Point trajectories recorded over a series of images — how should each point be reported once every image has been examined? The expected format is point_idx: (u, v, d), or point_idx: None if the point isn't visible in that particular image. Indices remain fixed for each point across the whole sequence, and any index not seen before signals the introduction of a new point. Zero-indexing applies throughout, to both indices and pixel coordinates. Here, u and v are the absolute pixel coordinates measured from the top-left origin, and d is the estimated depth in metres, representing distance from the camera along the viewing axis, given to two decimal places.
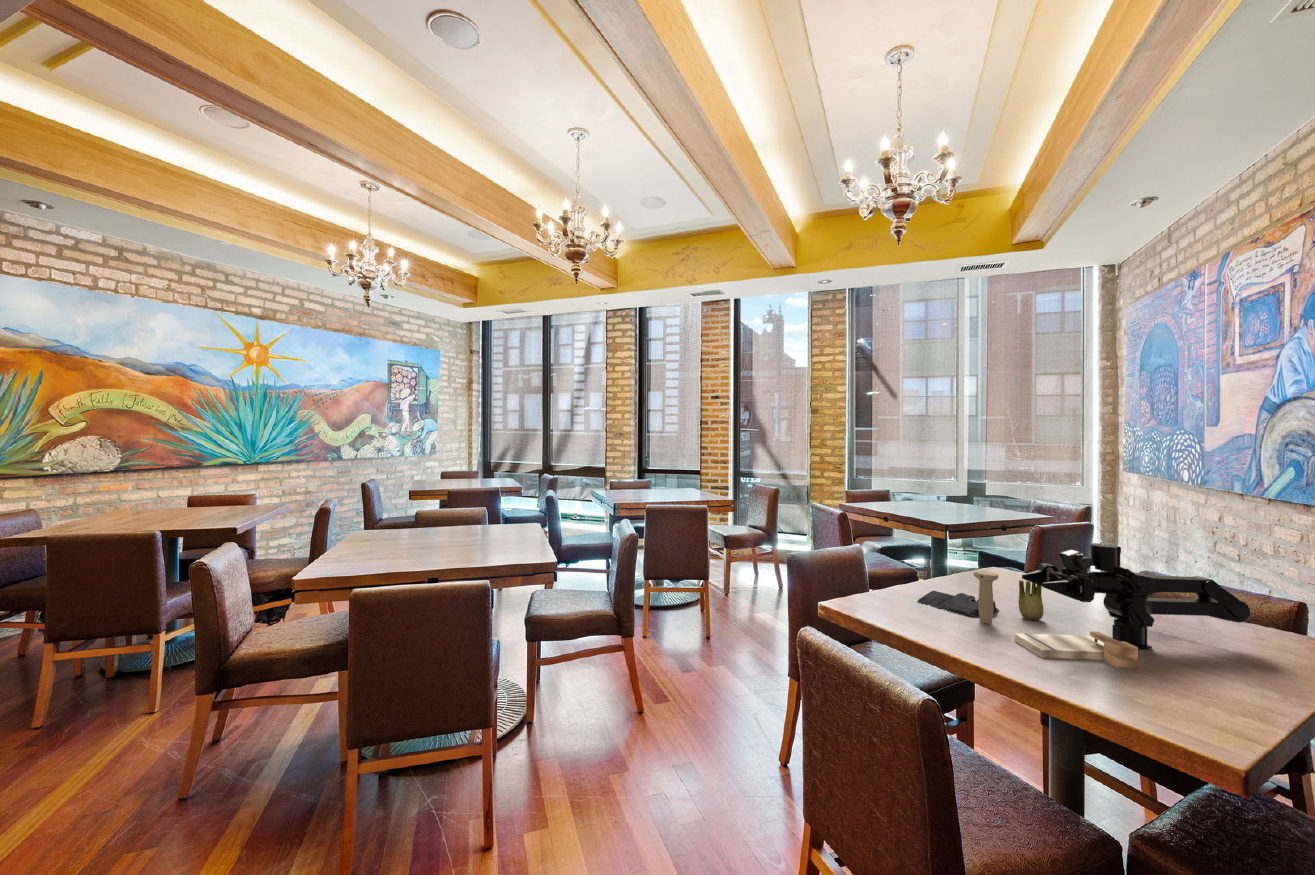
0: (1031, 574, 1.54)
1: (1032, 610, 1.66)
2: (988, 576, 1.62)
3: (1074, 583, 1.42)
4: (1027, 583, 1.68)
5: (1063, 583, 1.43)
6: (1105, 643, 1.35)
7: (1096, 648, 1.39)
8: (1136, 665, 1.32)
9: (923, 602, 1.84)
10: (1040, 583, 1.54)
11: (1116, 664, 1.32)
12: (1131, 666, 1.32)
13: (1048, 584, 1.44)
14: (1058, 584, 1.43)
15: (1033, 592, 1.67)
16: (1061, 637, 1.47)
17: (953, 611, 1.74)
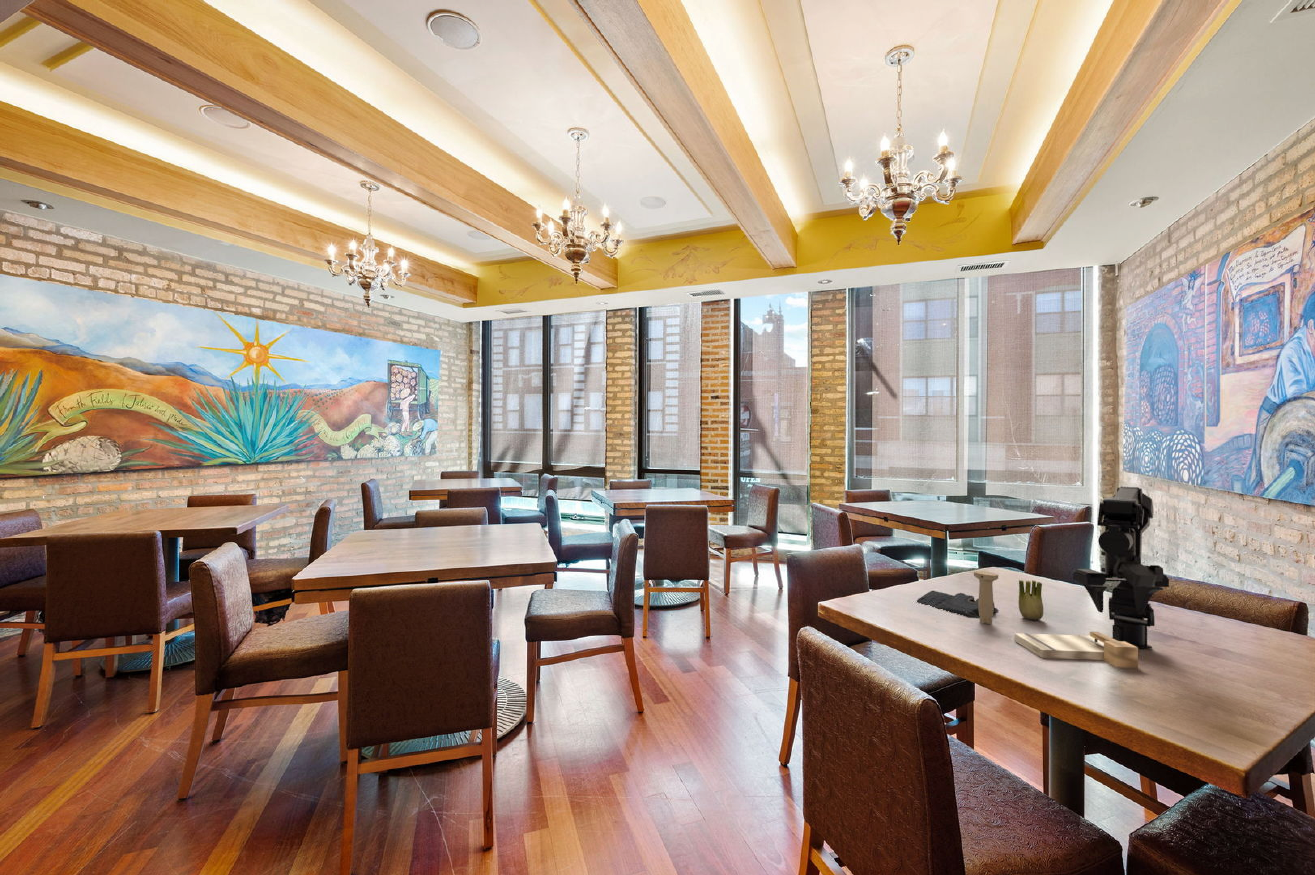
0: None
1: (1032, 610, 1.66)
2: (988, 576, 1.62)
3: None
4: (1027, 583, 1.68)
5: None
6: (1105, 643, 1.36)
7: (1096, 648, 1.39)
8: (1136, 665, 1.32)
9: (922, 602, 1.84)
10: None
11: (1116, 664, 1.32)
12: (1131, 666, 1.32)
13: None
14: None
15: (1033, 592, 1.67)
16: (1061, 637, 1.47)
17: (952, 611, 1.74)
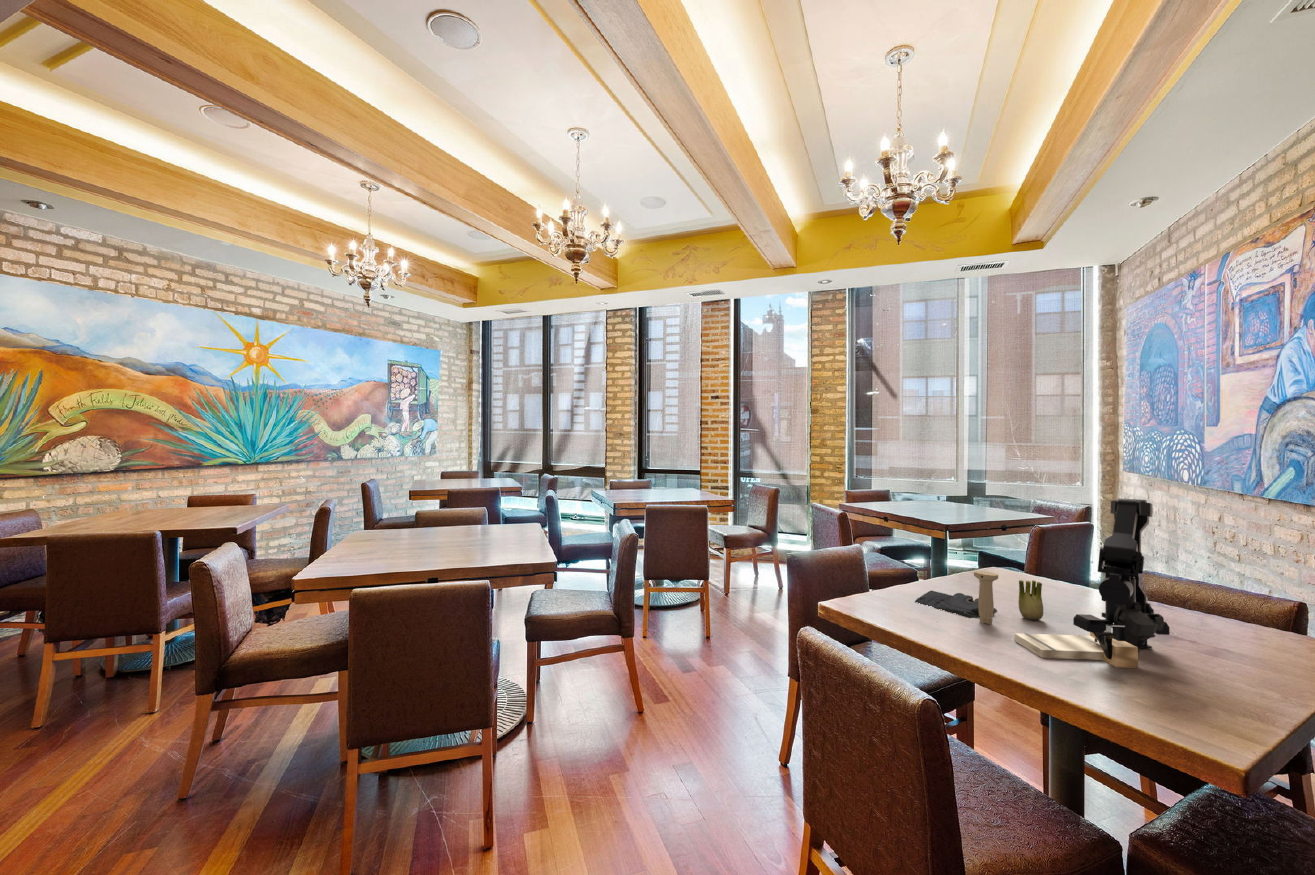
0: None
1: (1032, 610, 1.66)
2: (988, 576, 1.62)
3: None
4: (1027, 583, 1.68)
5: None
6: None
7: (1096, 648, 1.39)
8: (1136, 665, 1.32)
9: (921, 602, 1.84)
10: None
11: (1116, 664, 1.32)
12: (1131, 666, 1.32)
13: None
14: None
15: (1033, 592, 1.67)
16: (1061, 637, 1.47)
17: (950, 611, 1.74)
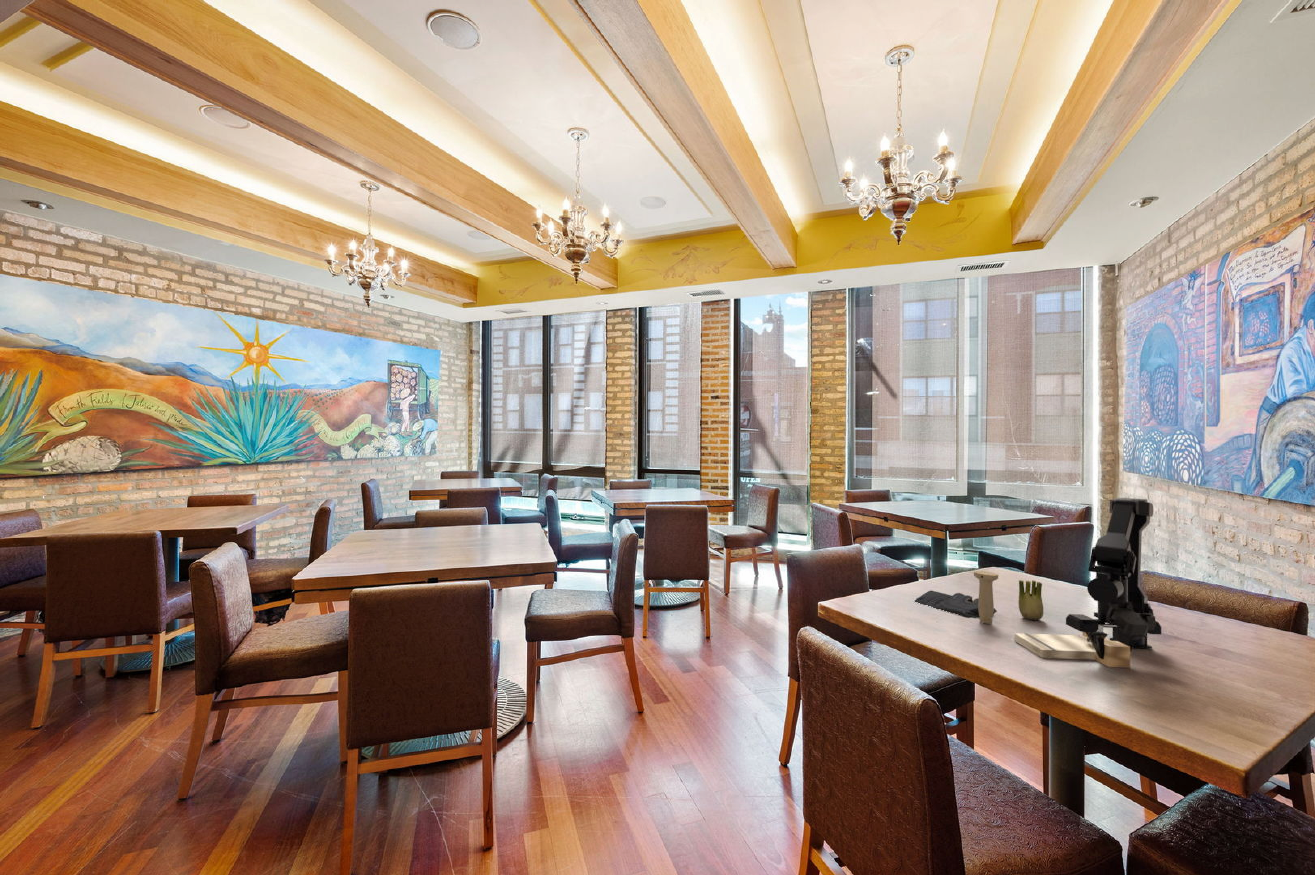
0: None
1: (1032, 610, 1.66)
2: (988, 576, 1.62)
3: None
4: (1027, 583, 1.68)
5: None
6: None
7: None
8: (1129, 664, 1.32)
9: (920, 602, 1.84)
10: None
11: (1108, 663, 1.32)
12: (1123, 666, 1.32)
13: None
14: None
15: (1033, 592, 1.68)
16: (1061, 637, 1.47)
17: (949, 611, 1.75)
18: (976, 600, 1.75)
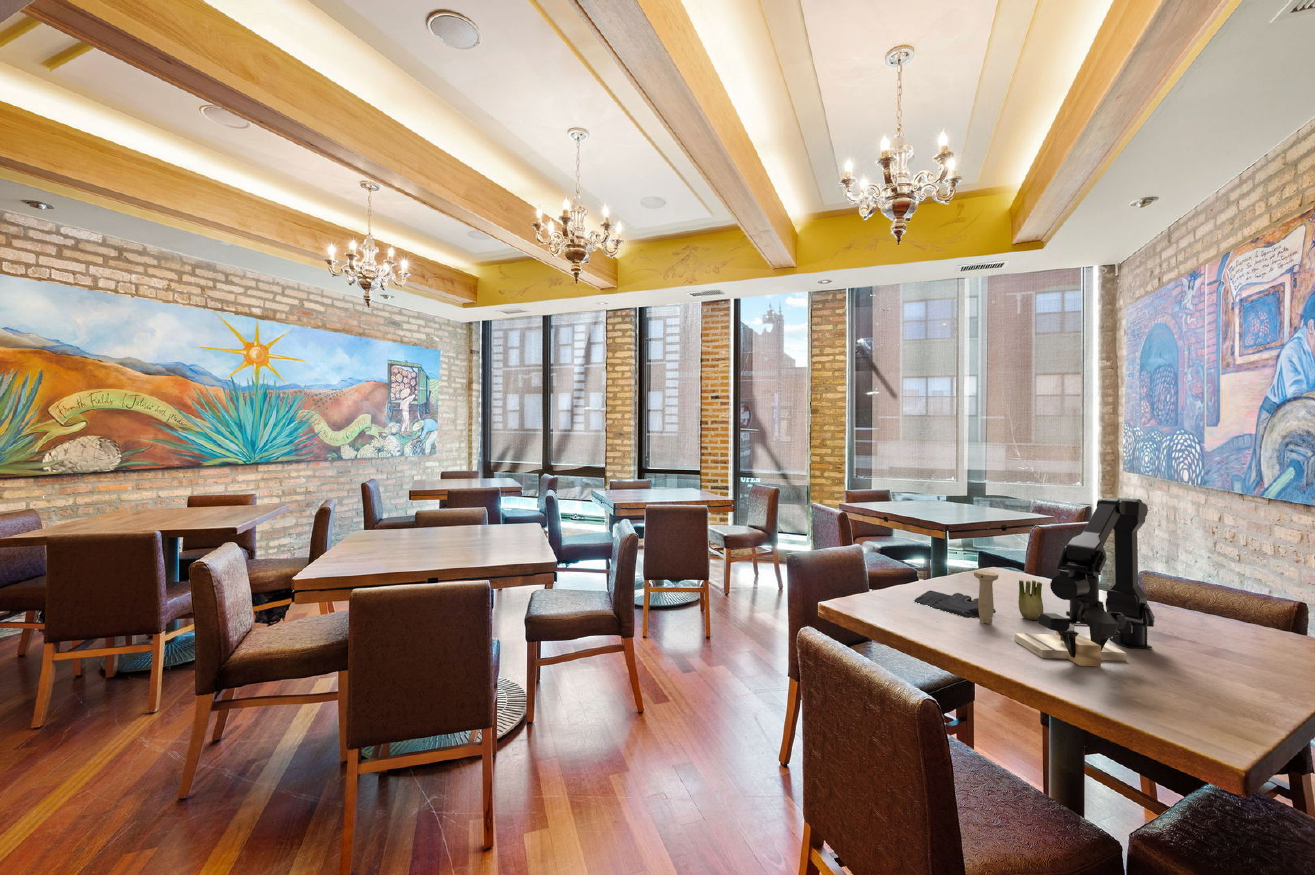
0: None
1: (1032, 610, 1.66)
2: (988, 576, 1.62)
3: None
4: (1027, 583, 1.68)
5: None
6: None
7: None
8: (1099, 663, 1.32)
9: (919, 602, 1.84)
10: None
11: (1079, 662, 1.33)
12: (1094, 664, 1.32)
13: None
14: None
15: (1033, 592, 1.68)
16: None
17: (948, 611, 1.75)
18: (975, 600, 1.75)
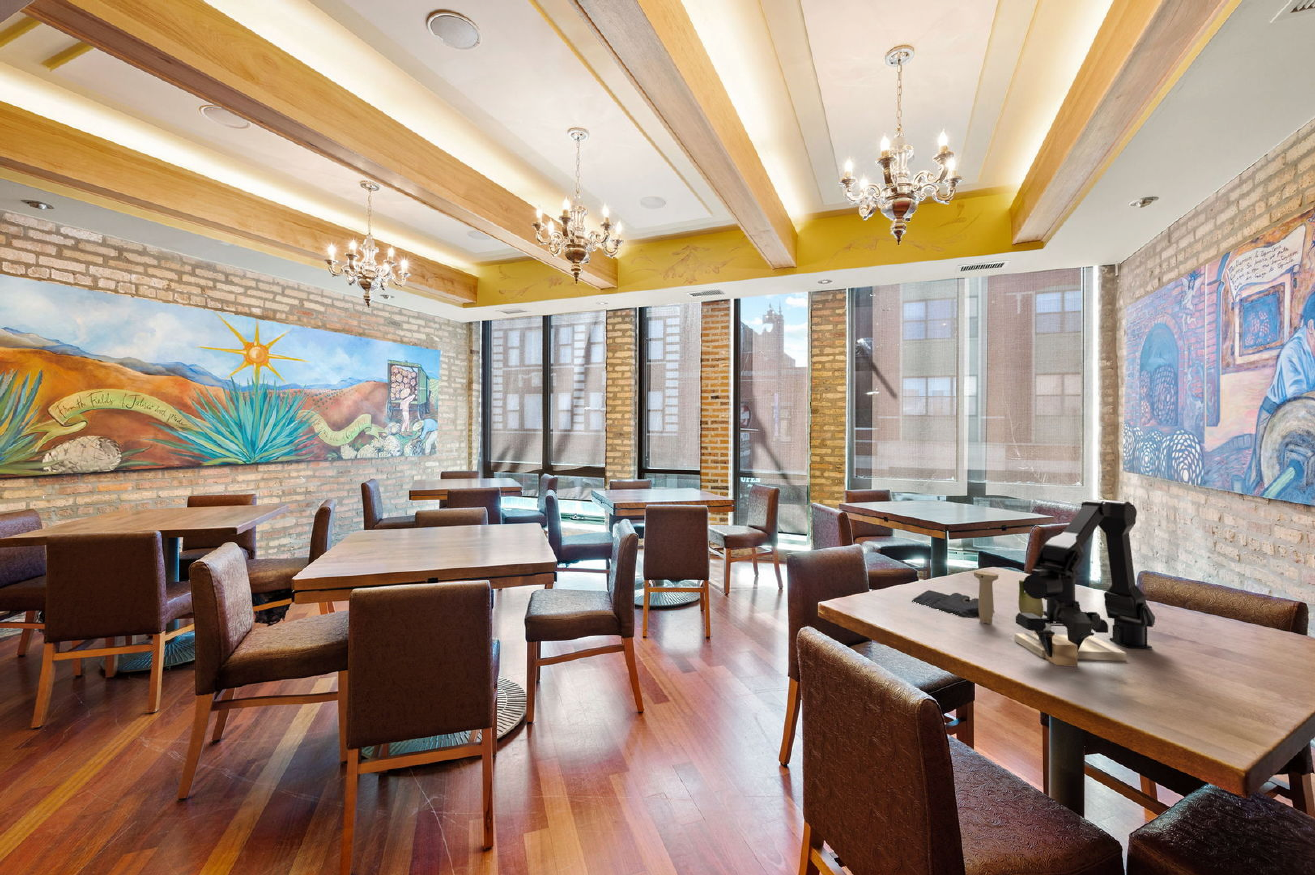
0: None
1: (1032, 610, 1.66)
2: (988, 576, 1.62)
3: None
4: None
5: None
6: None
7: (1096, 648, 1.39)
8: (1076, 663, 1.33)
9: (918, 601, 1.84)
10: None
11: (1056, 662, 1.33)
12: (1070, 664, 1.33)
13: None
14: None
15: None
16: (1061, 637, 1.47)
17: (946, 610, 1.75)
18: (973, 600, 1.75)
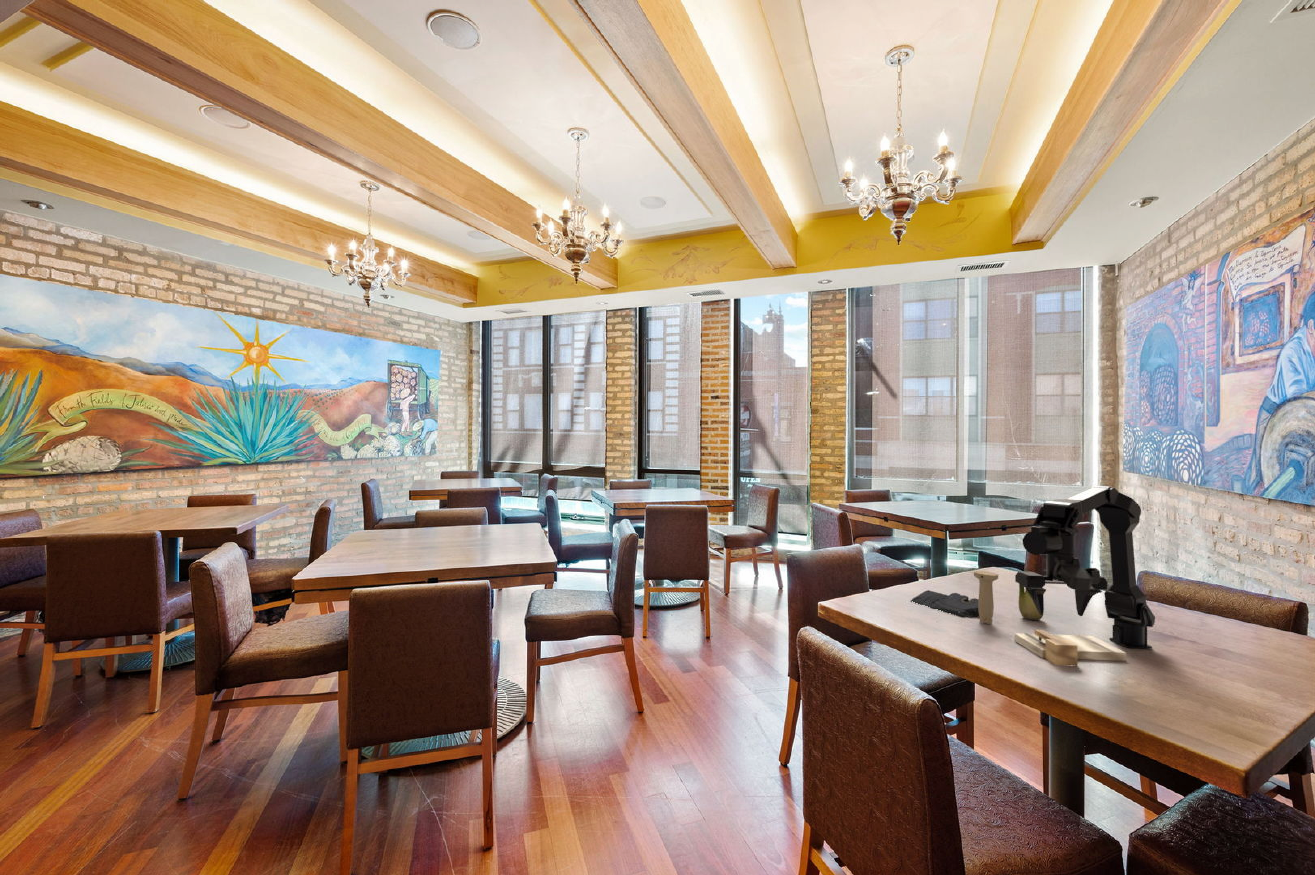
0: None
1: (1032, 610, 1.66)
2: (988, 576, 1.62)
3: None
4: None
5: None
6: (1046, 641, 1.37)
7: (1096, 648, 1.39)
8: (1076, 663, 1.33)
9: (916, 601, 1.84)
10: None
11: (1056, 662, 1.33)
12: (1070, 664, 1.33)
13: None
14: None
15: None
16: (1061, 637, 1.47)
17: (945, 611, 1.75)
18: (972, 600, 1.75)
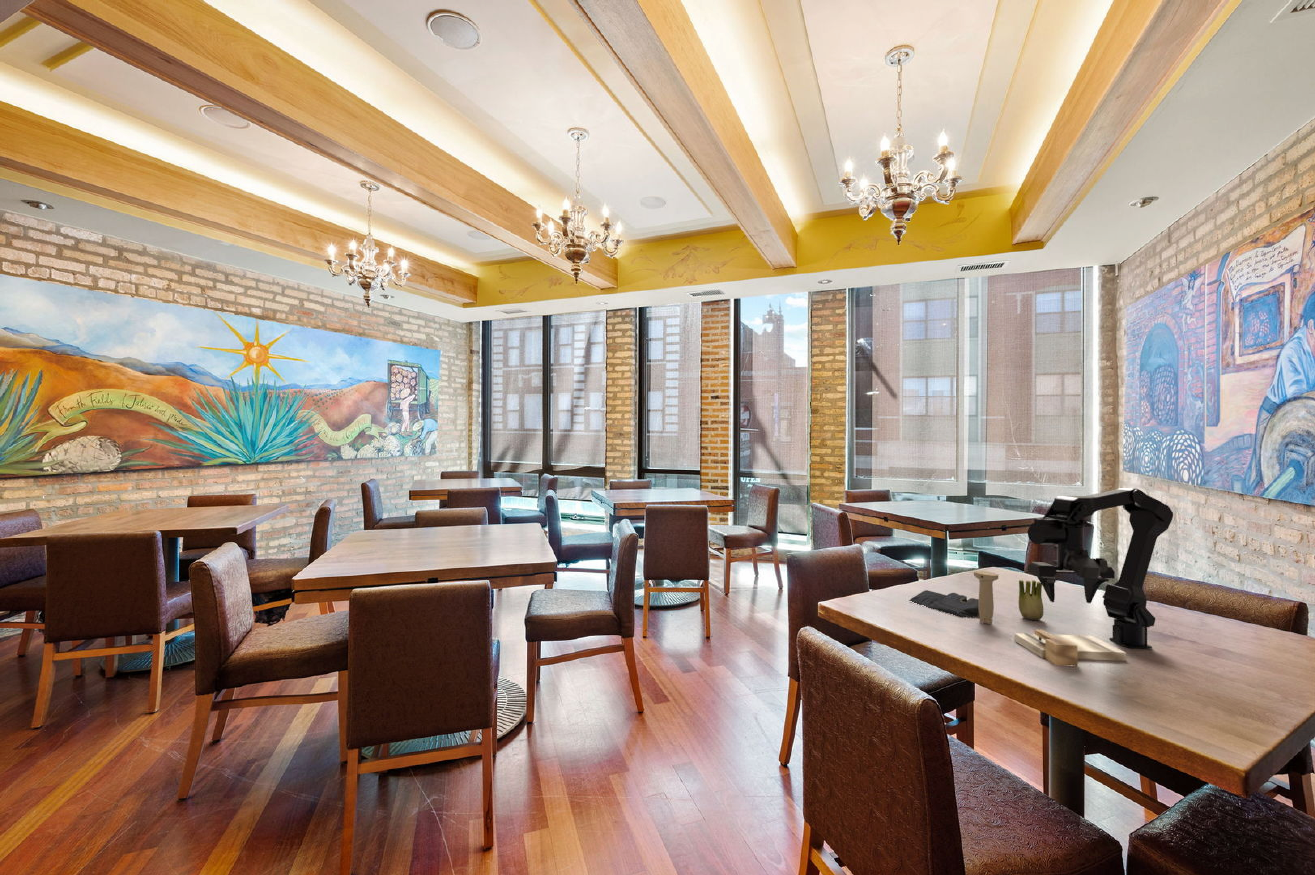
0: None
1: (1032, 610, 1.66)
2: (988, 576, 1.62)
3: None
4: (1027, 583, 1.68)
5: None
6: (1046, 641, 1.37)
7: (1096, 648, 1.39)
8: (1076, 663, 1.33)
9: (915, 601, 1.84)
10: None
11: (1056, 662, 1.33)
12: (1070, 664, 1.33)
13: None
14: None
15: (1033, 592, 1.68)
16: (1061, 637, 1.47)
17: (943, 610, 1.75)
18: (970, 600, 1.75)
